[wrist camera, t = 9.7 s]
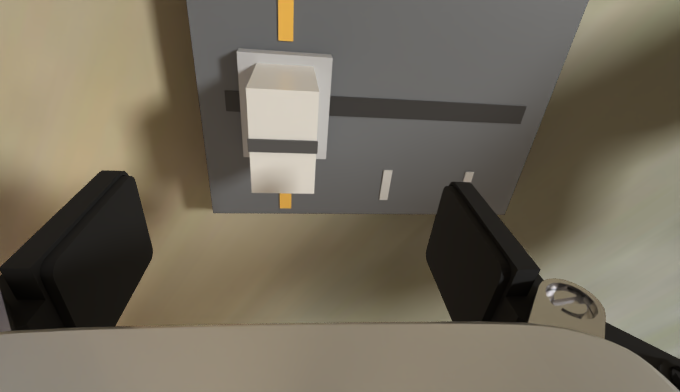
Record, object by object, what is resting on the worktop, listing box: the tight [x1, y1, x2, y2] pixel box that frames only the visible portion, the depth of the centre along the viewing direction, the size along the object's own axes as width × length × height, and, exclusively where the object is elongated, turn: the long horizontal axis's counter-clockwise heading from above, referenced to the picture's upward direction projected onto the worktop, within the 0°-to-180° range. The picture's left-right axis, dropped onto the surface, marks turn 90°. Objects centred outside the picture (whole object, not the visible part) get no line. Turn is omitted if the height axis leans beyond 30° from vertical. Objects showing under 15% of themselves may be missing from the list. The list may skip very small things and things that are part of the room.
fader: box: [237, 48, 333, 194], centre depth 18 cm, size 5×6×6 cm
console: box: [186, 0, 589, 215], centre depth 23 cm, size 22×16×3 cm
